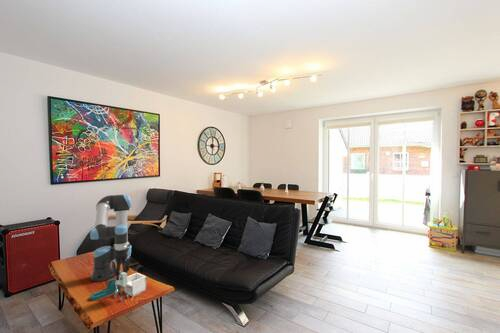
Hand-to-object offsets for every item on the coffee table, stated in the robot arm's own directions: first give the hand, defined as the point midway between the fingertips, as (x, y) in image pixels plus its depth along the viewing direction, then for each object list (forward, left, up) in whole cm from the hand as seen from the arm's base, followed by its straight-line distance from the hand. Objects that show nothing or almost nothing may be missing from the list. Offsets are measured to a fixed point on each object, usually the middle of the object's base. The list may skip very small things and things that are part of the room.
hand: (121, 283), depth 165 cm
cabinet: (0, +10, -10) cm, 14 cm away
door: (0, 0, -1) cm, 1 cm away
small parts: (-1, 0, -10) cm, 10 cm away
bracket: (-14, -4, -10) cm, 18 cm away
